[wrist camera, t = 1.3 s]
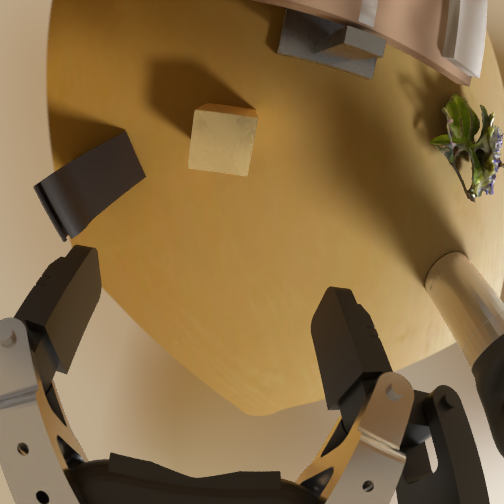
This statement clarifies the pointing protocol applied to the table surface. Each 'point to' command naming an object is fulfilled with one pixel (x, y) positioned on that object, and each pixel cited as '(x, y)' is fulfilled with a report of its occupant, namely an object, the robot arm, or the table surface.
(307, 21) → the pivot stand
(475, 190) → the passion flower
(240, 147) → the beige rectangular block
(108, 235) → the table surface
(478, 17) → the beam
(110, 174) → the phone stand
